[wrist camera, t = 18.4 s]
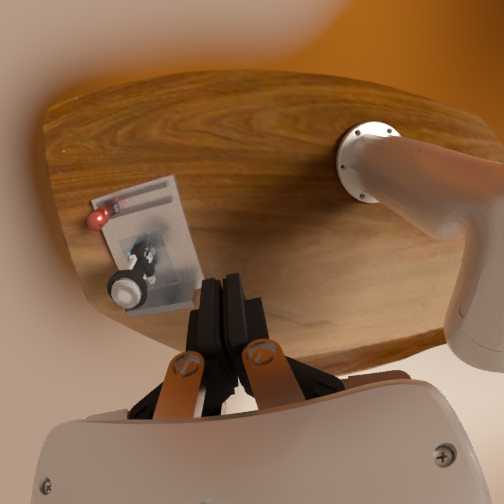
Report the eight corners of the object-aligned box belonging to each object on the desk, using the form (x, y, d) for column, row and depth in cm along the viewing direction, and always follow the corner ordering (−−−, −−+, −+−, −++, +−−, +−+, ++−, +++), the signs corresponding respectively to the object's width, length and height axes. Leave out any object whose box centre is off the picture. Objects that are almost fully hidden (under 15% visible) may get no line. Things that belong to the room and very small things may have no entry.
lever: (114, 198, 34) (100, 210, 30) (119, 214, 35) (107, 228, 31) (97, 204, 34) (82, 217, 30) (102, 219, 35) (89, 233, 31)
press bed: (174, 172, 35) (165, 184, 30) (207, 281, 44) (205, 307, 38) (95, 197, 35) (75, 212, 30) (135, 295, 44) (126, 320, 38)
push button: (169, 273, 41) (157, 316, 32) (140, 282, 41) (123, 324, 32) (151, 236, 38) (132, 273, 29) (121, 246, 38) (97, 284, 29)
